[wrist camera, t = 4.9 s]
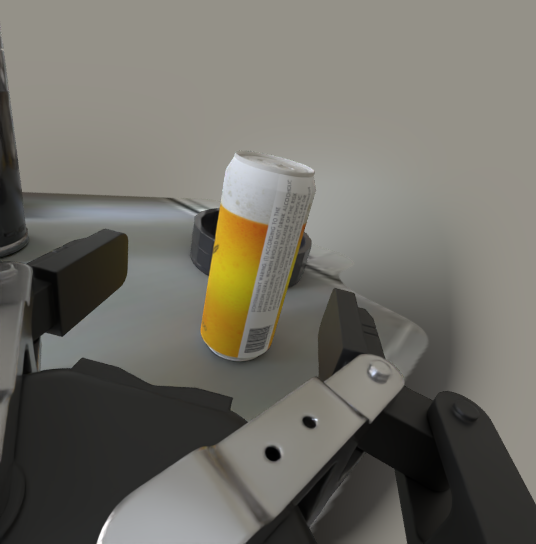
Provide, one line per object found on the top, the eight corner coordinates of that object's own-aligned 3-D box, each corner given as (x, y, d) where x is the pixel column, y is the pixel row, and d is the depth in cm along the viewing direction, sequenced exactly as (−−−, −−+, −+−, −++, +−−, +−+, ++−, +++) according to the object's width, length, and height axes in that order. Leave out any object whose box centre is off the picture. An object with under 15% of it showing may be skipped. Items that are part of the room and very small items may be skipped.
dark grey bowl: (171, 270, 36) (174, 232, 34) (209, 229, 49) (214, 200, 47) (299, 303, 35) (310, 267, 33) (303, 253, 48) (311, 225, 46)
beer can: (244, 312, 31) (280, 154, 25) (284, 352, 28) (339, 177, 21) (186, 328, 28) (211, 145, 21) (223, 376, 24) (268, 171, 17)
